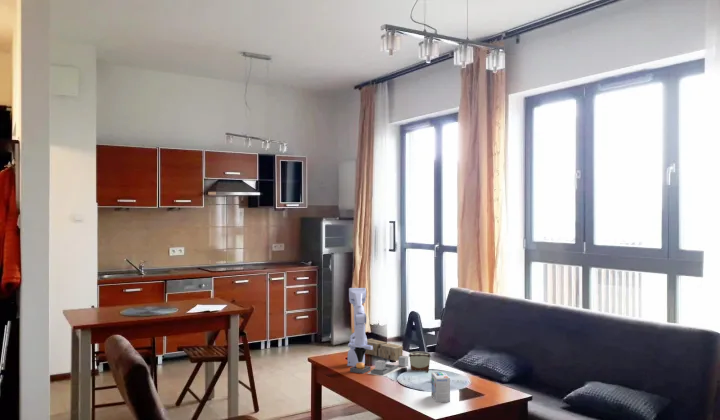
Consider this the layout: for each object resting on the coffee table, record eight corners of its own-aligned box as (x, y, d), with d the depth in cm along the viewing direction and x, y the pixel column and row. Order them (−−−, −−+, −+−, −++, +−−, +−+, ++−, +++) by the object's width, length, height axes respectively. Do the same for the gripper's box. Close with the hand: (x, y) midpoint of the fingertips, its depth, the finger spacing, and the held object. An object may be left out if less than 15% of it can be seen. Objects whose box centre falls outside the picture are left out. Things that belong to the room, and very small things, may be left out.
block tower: (404, 360, 336) (371, 350, 358) (404, 346, 336) (371, 337, 358) (394, 362, 331) (362, 352, 353) (395, 348, 331) (362, 339, 353)
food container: (431, 369, 311) (430, 351, 311) (431, 372, 305) (431, 353, 305) (408, 369, 312) (408, 351, 312) (408, 372, 306) (408, 353, 306)
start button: (354, 369, 304) (354, 363, 304) (358, 367, 308) (358, 362, 308) (361, 370, 302) (361, 364, 302) (365, 368, 305) (365, 363, 305)
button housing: (350, 373, 303) (350, 367, 303) (357, 370, 310) (357, 364, 310) (362, 375, 299) (362, 369, 299) (370, 372, 306) (370, 366, 306)
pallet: (366, 375, 300) (366, 370, 300) (383, 367, 316) (383, 362, 316) (385, 378, 294) (385, 373, 294) (401, 369, 310) (401, 365, 310)
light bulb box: (431, 395, 264) (430, 372, 265) (445, 394, 265) (445, 371, 265) (436, 402, 254) (435, 378, 254) (450, 402, 254) (450, 377, 254)
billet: (398, 367, 315) (398, 357, 315) (401, 366, 318) (401, 355, 319) (405, 368, 313) (405, 357, 313) (408, 367, 316) (408, 356, 317)
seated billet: (375, 372, 300) (375, 361, 301) (378, 371, 304) (378, 360, 304) (381, 373, 298) (381, 362, 298) (385, 372, 302) (385, 360, 302)
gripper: (344, 336, 305) (345, 361, 305) (368, 339, 298) (368, 364, 297) (351, 334, 311) (351, 359, 311) (374, 336, 304) (374, 362, 304)
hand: (360, 361), depth 305 cm, fingers closed
